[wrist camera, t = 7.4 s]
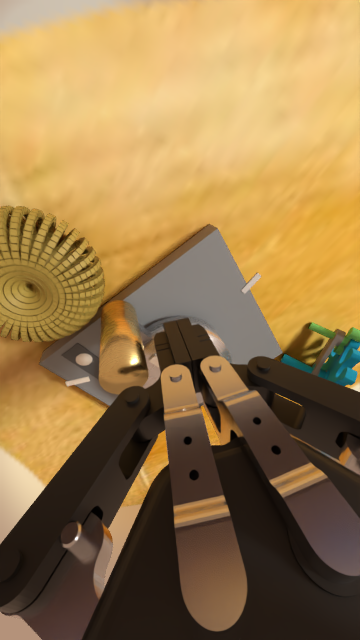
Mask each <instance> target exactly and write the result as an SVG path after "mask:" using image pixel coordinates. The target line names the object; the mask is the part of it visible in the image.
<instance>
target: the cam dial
mask: <svg viewBox="0 0 360 640" xmlns="http://www.w3.org/2000/svg"><path fill="white" fill-rule="evenodd" d="M183 318H189V320H190V322H191V324H192V325H195V324H199V325H201V326H202V327H204V328H205V330H206V331H207V333H208V335H209V337H210V339H211V340H212V342H213V344H214V346H215V347H216V349H217V351H218V353H219V355H220V356H221V357H223V358H225V359H226V360H227V361H228V362H229V363H232V360H231V355H230V352H229V350H228V349H227V347H226V346H225V344H224V343H223V341H222V340H221V338H220V337H219V335H218V334H217V332H216V331H215V329H214V328H213V327H212V326H211V325H210V324H209V323H207V322H206V321H204V320H202V319H199V318H196V317H192V316H174V317H169V318H165V319H163V320H160V321H158V322H156V323H153V324H152V325H150V326H149V327H147V328H145V327H143V326H142V325H141V324H139V323H138V319H137V314H136V310H135V308H134V307H133V306H132V305H131V304H130V303H128V302H126V301H122V300H116V301H112V302H110V303H108V304H107V305H105V306H104V308H103V309H102V312H101V330H100V358H99V383H100V385H101V387H102V388H103V389H104V390H105V391H107V392H109V393H112V394H120V393H121V392H122V391H123V390H125V389H126V388H128V387H131V386H141V387H143V388H145V389H146V388H148V387H149V386H151V385H153V384H154V383H155V382H156V381H157V380H158V379H159V377H160V373H161V372H160V368H159V363H158V358H157V354H156V349H155V344H154V337H155V334H156V333H159V332H163V331H164V327H163V323H164V322H169V321H174V320H175V321H176V320H178V319H183ZM196 397H197V401H198V404H200V403H202V402H203V397H202V395H201V392H199V393H196Z"/></svg>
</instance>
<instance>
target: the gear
mask: <svg viewBox="0 0 360 640" xmlns="http://www.w3.org/2000/svg"><path fill="white" fill-rule="evenodd" d="M308 329H311V330H313V331H315V332H317V333H319V334H321V335H324V336H326V337H328V338H330V339H329V340H328V342H327V343H326V345H325V347H324V348H323V350H322V351H321V353H320V354H319V356H318V358H317V359H316V361H315V362H314V364H313V365H312V367H310V366H308V365H306V364H304V363H302V362H301V361H299V360H297V359H295V358H293V357H291V356H289V355H287V354H284V355H283V357H282V359H281V361H280V362H282V363H284V364H287V365H290V366H292V367H295V368H297V369H300V370H303V371H305V372H308V373H311V374H313V375H316V376H318V377H321V378H324V379H326V380H329V381H332V382H334V383H337V384H339V385H342V386H346V385H352V384H354V383H355V380H356V377H357V372H356V371H354V370H352V368H353V367H354V366H355V365H356V364H357V363H359V362H360V351H358V350H357V349H358V348H359V346H360V330H358V329H355V328H353V327H352V328H351V329H350V330H349V332H348V333H347V335H346V336H345V334H346V333H345V332H344V331H341V330H339V329H337V330H335V331H334V332H332V331H330V330H328V329H326V328H323V327H321V326H319V325H317V324H314V323H311V324H310V326H309V328H308ZM355 340H356V341H355ZM334 347H335V348H334ZM328 357H329V359H328V361H327V362H326V363H324V362H325V361H326V359H327V358H328Z"/></svg>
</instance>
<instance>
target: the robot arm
mask: <svg viewBox="0 0 360 640" xmlns="http://www.w3.org/2000/svg"><path fill="white" fill-rule="evenodd" d="M163 327H164V331H163V332H159V333H156V334H155V337H154V344H155V349H156V354H157V358H158V363H159V368H160V372H161V373H160V377H159V379H158V380H157V381H156V382H155V383H154V384H153V385H151V386H149V387H148V388H146V389H145V388H143V387H141V386H131V387H128V388H126V389H125V390H123V391H122V392H121V393H120V394H119V395H118V397H117V398H116V399H115V400H114V402H113V403H112V404H111V405H110V407H109V408H108V409H107V410H106V412H105V413H104V414H103V416H102V417H101V418H100V419H99V421H98V422H97V423H96V424H95V426H94V427H93V428H92V429H91V431H90V432H89V433H88V434H87V436H86V437H85V438H84V439H83V441H82V442H81V443H80V445H79V446H78V447H77V448H76V450H75V451H74V452H73V453H72V455H71V456H70V457H69V458H68V460H67V461H66V462H65V463H64V465H63V466H62V467H61V469H60V470H59V471H58V472H57V474H56V475H55V476H54V477H53V479H52V480H51V481H50V482H49V484H48V485H47V486H46V487H45V489H44V490H43V491H42V493H41V494H40V495H39V496H38V498H37V499H36V500H35V501H34V503H33V504H32V505H31V506H30V508H29V509H28V510H27V511H26V513H25V514H24V515H23V516H22V518H21V519H20V520H19V522H18V523H17V524H16V525H15V527H14V528H13V529H12V530H11V532H10V533H9V534H8V535H7V537H6V538H5V539H4V540H3V542H2V543H1V544H0V612H1V613H2V614H4V615H7V616H11V617H14V618H18V619H22V620H24V621H25V622H26V623H27V624H28V625H29V626H30V627H31V628H32V629H33V630H34V632H36V634H37V635H38V636H39V637H40V638H41V639H42V640H360V392H358V391H355V390H352V389H350V388H347V387H345V386H342V385H339V384H337V383H334V382H332V381H329V380H326V379H324V378H321V377H318V376H316V375H313V374H311V373H308V372H305V371H303V370H300V369H297V368H295V367H292V366H290V365H287V364H284V363H282V362H279V361H277V360H274V359H271V358H269V357H265V356H257V357H254V358H252V359H250V360H249V362H248V365H247V364H232V363H229V362H228V361H227V360H226V359H225V358H223V357H221V356H220V355H219V353H218V351H217V349H216V347H215V346H214V344H213V342H212V340H211V339H210V337H209V335H208V333H207V331H206V330H205V328H204V327H202V326H201V325H199V324H195V325H192V324H191V322H190V320H189V318H183V319H178V320H176V321H175V320H174V321H169V322H164V323H163ZM199 392H201V395H202V397H203V405H204V408H205V410H206V412H207V414H208V416H209V418H210V421H211V423H212V425H213V427H214V429H215V431H216V433H217V435H218V438H219V440H220V444H221V445H212V446H211V444H210V441H209V437H208V433H207V429H206V425H205V422H204V418H203V414H202V410H201V407H200V406H199V405H198V401H197V397H196V393H199ZM275 393H277V394H279V395H281V396H283V397H286V398H288V399H290V400H292V401H294V402H296V403H299V404H300V405H302V406H300V405H298V404H296V403H294V402H292V401H289V400H287V399H285V398H283V397H281V396H279V395H277V394H275ZM164 430H165V431H166V441H167V450H168V460H169V464H168V465H167V466H166V467H164V468H163V469H162V470H161V472H160V473H159V474H158V475H157V476H156V478H155V479H154V481H153V483H152V484H151V486H150V488H149V490H148V493H147V495H146V497H145V499H144V501H143V504H142V506H141V508H140V510H139V513H138V515H137V517H136V519H135V522H134V524H133V526H132V528H131V530H130V533H129V535H128V537H127V539H126V542H125V544H124V546H123V548H122V550H121V553H120V555H119V557H118V560H117V562H116V564H115V566H114V568H113V571H112V573H111V575H110V577H109V579H108V582H107V584H106V586H105V588H104V578H105V573H106V569H107V566H108V563H109V561H110V558H111V554H112V548H113V542H112V536H111V534H110V531H109V530H108V528H109V526H110V524H111V523H112V521H113V519H114V517H115V515H116V513H117V512H118V510H119V508H120V506H121V504H122V502H123V500H124V499H125V497H126V495H127V493H128V491H129V489H130V488H131V486H132V484H133V482H134V480H135V478H136V477H137V475H138V473H139V471H140V469H141V467H142V465H143V464H144V462H145V460H146V458H147V456H148V454H149V453H150V451H151V449H152V447H153V445H154V443H155V442H156V440H157V437H158V434H159V433H161V432H163V431H164Z"/></svg>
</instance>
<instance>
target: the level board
mask: <svg viewBox="0 0 360 640" xmlns="http://www.w3.org/2000/svg"><path fill="white" fill-rule="evenodd" d="M260 278H261V276H260V275H259V274H258V273H256V274H255V275H254V276H253V277H252V279H251V280H250V281H249V282H248V283H246V282H245V280H244V278H243V276H242V274H241V272H240V270H239V268H238V266H237V264H236V262H235V261H234V259H233V257H232V255H231V253H230V251H229V249H228V247H227V245H226V243H225V241H224V240H223V238H222V236H221V234H220V232H219V230H218V228H216V227H214V226H212V225H210V224H209V225H208V226H206V227H205V228H204V229H202V230H201V231H200V232H198V233H197V234H196V235H195V236H193V237H192V238H191V239H189V240H188V241H187V242H185V243H184V244H183V245H181V246H180V247H179V248H178V249H176V250H175V251H174V252H172V253H171V254H170V255H168V256H167V257H166V258H164V259H163V260H162V261H161V262H159V263H158V264H157V265H155V266H154V267H153V268H151V269H150V270H149V271H148V272H146V273H145V274H144V275H142V276H141V277H140V278H138V279H137V280H136V281H134V282H133V283H132V284H131V285H129V286H128V287H127V288H125V289H124V290H123V291H121V292H120V293H119V294H118V295H116V296H115V297H114V298H112V299H111V300H110V301H108V302H107V303H106V304H104V305H103V306H102V307H101V308H99V309H98V310H97V313H96V314H95V315H94V317H92V319H91V320H90V322H89V323H88V324H86V325H85V326H84V327H83V328H81V329H80V330H78V331H75V333H73V334H71V335H69V336H65V337H63V338H61V339H59V340H57V341H56V342H55V343H54V344H52V345H51V346H50V347H48V348H47V349H46V350H44V351H43V354H42V357H41V359H40V362H39V365H41V366H43V367H44V368H46V369H48V370H50V371H51V372H53V373H55V374H56V375H58V376H60V377H61V378H63V379H65V380H67V381H65V383H66V385H67V386H71V385H75V386H77V387H78V388H80V389H82V390H84V391H85V392H87V393H89V394H90V395H92V396H94V397H96V398H97V399H99V400H101V401H102V402H104V403H106V404H107V405H109V406H110V405H111V404H112V403H113V402H114V400H115V399H116V398H117V397H118V395H119V394H112V393H109V392H107V391H105V390H104V389H103V388H102V387H101V385H100V383H99V358H100V330H101V312H102V309H103V308H104V306H105V305H107V304H108V303H110V302H112V301H116V300H122V301H126V302H128V303H130V304H131V305H132V306H133V307H134V308H135V310H136V314H137V319H138V323H139V324H141V325H142V326H143V327H145V328H147V327H149V326H150V325H152V324H153V323H156V322H158V321H160V320H163V319H165V318H169V317H174V316H192V317H196V318H199V319H202V320H204V321H206V322H207V323H209V324H210V325H211V326H212V327H213V328H214V329H215V331H216V332H217V334H218V335H219V337H220V338H221V340H222V341H223V343H224V344H225V346H226V347H227V349H228V350H229V352H230V355H231V360H232V364H247V365H248V362H249V360H250V359H252V358H254V357H257V356H265V357H269V358H271V359H274V358H275V357H277V356H279V355H280V354H282V353H283V352H282V350H281V348H280V347H279V345H278V343H277V341H276V339H275V337H274V335H273V333H272V331H271V329H270V327H269V326H268V324H267V322H266V320H265V318H264V316H263V314H262V312H261V310H260V308H259V306H258V305H257V303H256V301H255V299H254V297H253V295H252V293H251V291H250V288H251V287H252V286H253V285H254V284H255V283H256V282H257V281H258V280H259V279H260ZM198 405H199V406H200V407H201V406H202V405H203V402H202V403H200V404H198Z"/></svg>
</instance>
